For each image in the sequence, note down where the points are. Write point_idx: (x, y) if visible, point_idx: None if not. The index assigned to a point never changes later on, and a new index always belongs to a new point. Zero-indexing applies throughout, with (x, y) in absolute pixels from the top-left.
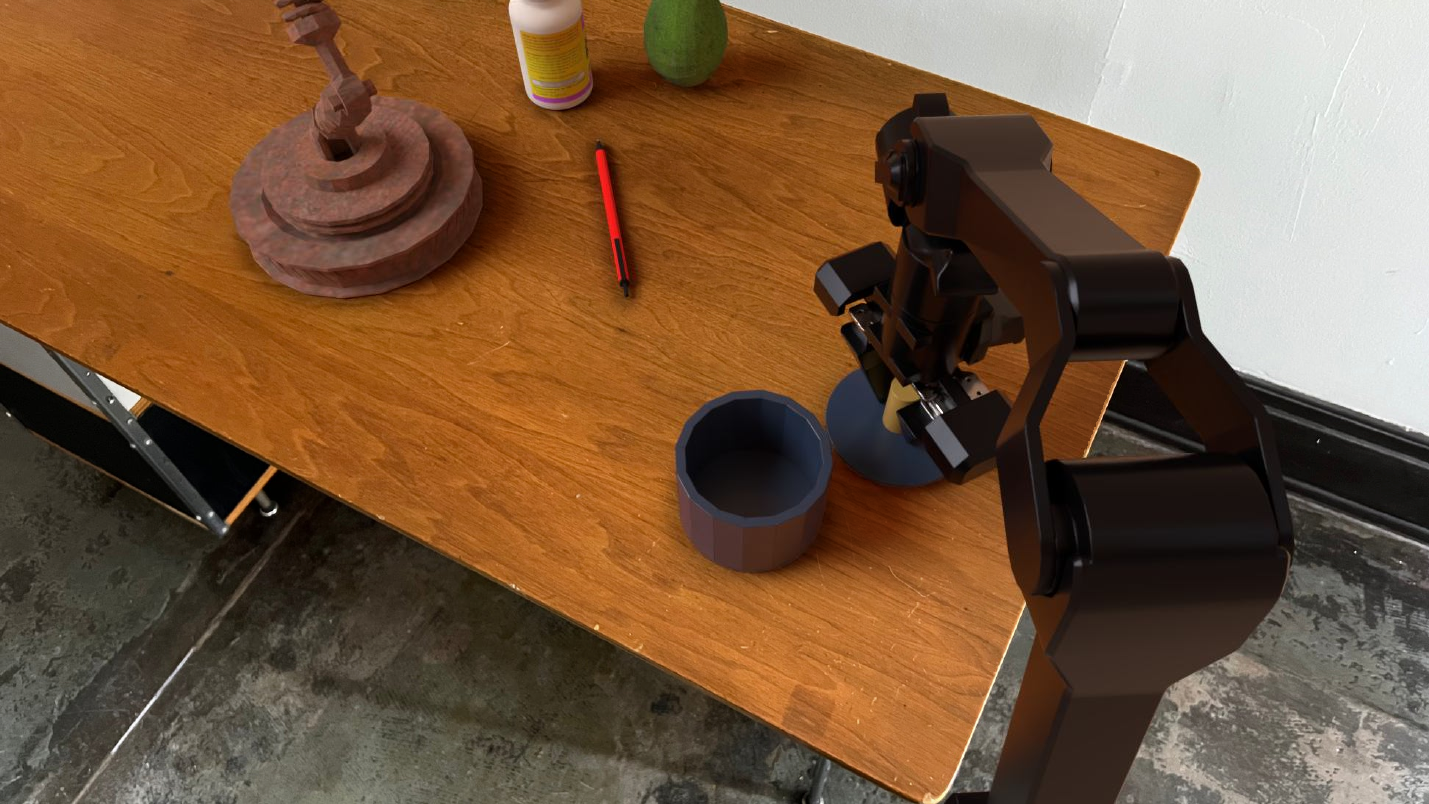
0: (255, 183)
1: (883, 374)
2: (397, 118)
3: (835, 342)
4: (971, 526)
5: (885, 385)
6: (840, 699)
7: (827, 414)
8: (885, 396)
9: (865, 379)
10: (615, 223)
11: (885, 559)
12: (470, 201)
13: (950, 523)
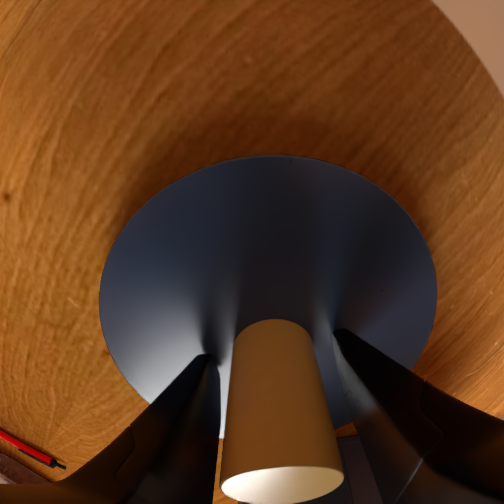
0: None
1: (197, 481)
2: None
3: (65, 353)
4: (494, 256)
5: (207, 434)
6: (499, 408)
7: (223, 437)
8: (215, 390)
9: (147, 372)
10: (7, 440)
11: (458, 379)
12: (29, 475)
13: (477, 288)
